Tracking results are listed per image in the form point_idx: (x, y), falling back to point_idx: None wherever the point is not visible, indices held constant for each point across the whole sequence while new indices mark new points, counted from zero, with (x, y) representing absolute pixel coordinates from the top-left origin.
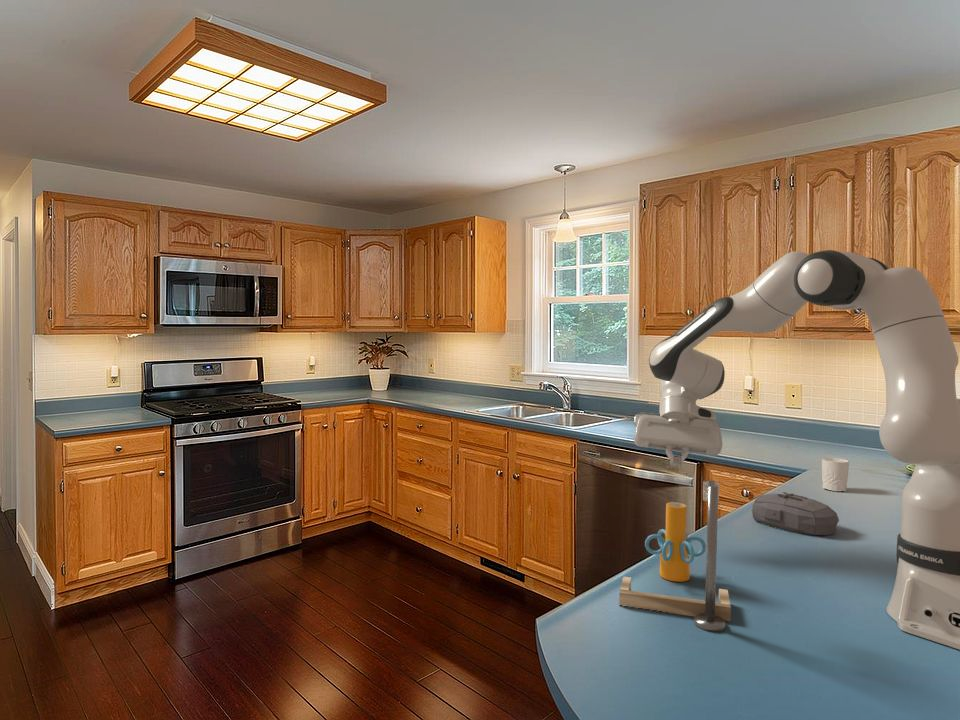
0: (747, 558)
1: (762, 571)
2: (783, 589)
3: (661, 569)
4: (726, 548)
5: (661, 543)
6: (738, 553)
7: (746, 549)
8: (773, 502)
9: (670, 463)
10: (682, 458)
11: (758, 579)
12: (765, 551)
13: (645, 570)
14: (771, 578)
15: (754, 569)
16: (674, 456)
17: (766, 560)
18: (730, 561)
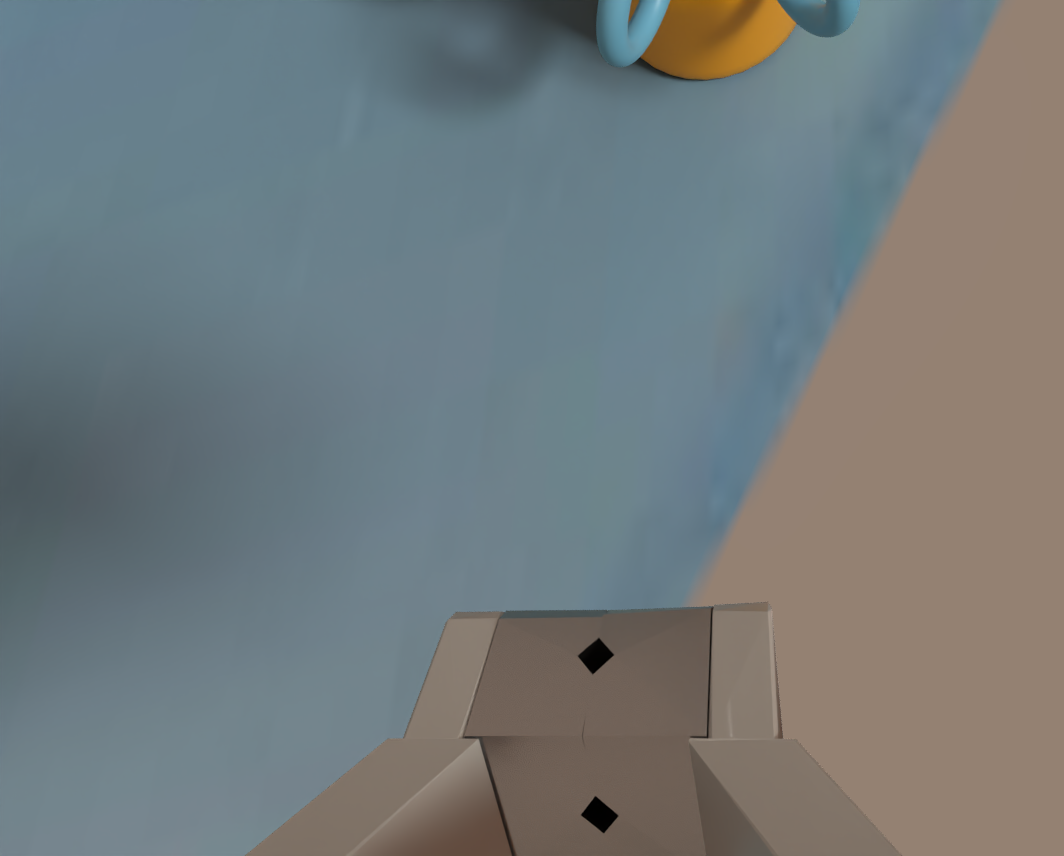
0: (188, 501)
1: (155, 277)
2: (118, 33)
3: None
4: (288, 692)
5: (815, 2)
6: (225, 595)
7: (150, 708)
8: None
9: (780, 709)
10: (452, 705)
11: (211, 134)
12: (31, 697)
13: (903, 40)
14: (135, 176)
15: (194, 297)
16: (676, 726)
17: (77, 497)
18: (312, 403)
